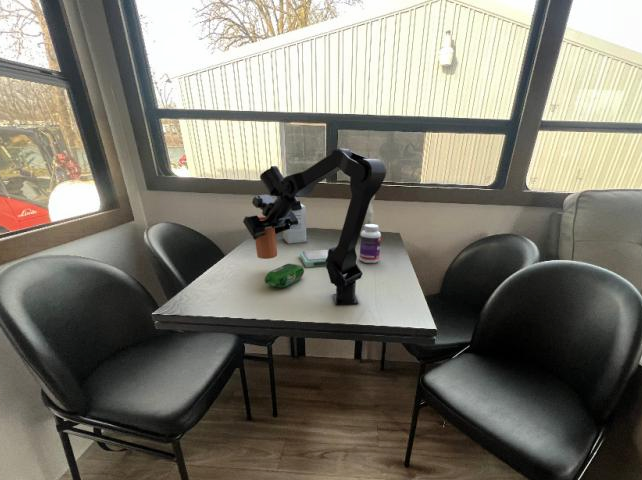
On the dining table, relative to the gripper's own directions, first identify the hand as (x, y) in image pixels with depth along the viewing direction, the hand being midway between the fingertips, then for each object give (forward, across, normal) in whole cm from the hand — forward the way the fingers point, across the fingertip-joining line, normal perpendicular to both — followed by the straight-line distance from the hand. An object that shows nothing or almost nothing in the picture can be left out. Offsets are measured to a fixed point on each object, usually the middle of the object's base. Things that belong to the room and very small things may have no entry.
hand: (262, 236), depth 102 cm
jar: (+4, 0, +6) cm, 7 cm away
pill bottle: (-7, -34, +25) cm, 43 cm away
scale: (+4, -20, +14) cm, 25 cm away
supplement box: (+24, -34, -6) cm, 42 cm away
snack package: (-1, +3, +19) cm, 19 cm away
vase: (+10, -67, +8) cm, 68 cm away
